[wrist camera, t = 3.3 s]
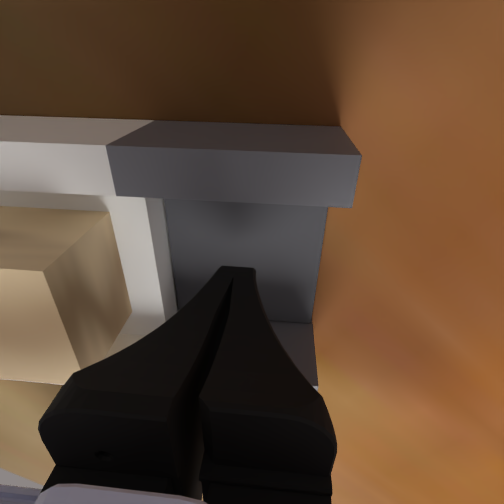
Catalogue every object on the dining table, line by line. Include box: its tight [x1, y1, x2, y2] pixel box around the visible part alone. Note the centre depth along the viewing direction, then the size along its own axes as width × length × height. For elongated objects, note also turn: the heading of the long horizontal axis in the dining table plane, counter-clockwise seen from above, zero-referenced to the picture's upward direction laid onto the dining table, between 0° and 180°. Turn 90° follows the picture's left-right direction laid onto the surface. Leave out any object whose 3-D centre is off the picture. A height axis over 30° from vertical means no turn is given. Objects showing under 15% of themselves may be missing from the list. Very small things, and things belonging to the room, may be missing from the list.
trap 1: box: [164, 199, 328, 323], centre depth 15 cm, size 8×7×1 cm
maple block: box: [0, 206, 132, 385], centre depth 12 cm, size 5×5×4 cm
